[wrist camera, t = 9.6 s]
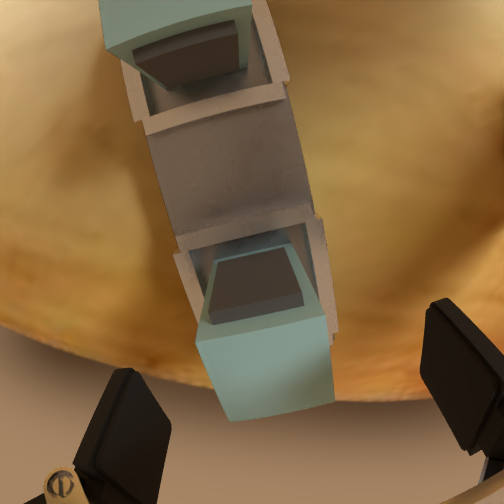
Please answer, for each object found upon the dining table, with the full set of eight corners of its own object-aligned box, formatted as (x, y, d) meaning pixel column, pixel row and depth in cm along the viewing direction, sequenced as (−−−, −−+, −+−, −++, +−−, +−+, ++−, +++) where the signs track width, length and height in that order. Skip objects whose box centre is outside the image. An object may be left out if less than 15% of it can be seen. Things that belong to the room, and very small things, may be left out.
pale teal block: (289, 233, 15) (323, 300, 9) (303, 310, 17) (335, 401, 10) (210, 251, 15) (189, 328, 9) (233, 325, 17) (229, 422, 10)
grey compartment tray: (130, 15, 13) (109, -7, 10) (247, -17, 13) (248, -47, 9) (222, 341, 20) (218, 376, 17) (326, 317, 20) (340, 348, 17)
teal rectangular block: (150, 23, 11) (94, -43, 5) (228, 1, 11) (220, -83, 5) (167, 99, 13) (108, 64, 6) (250, 76, 13) (257, 19, 6)
